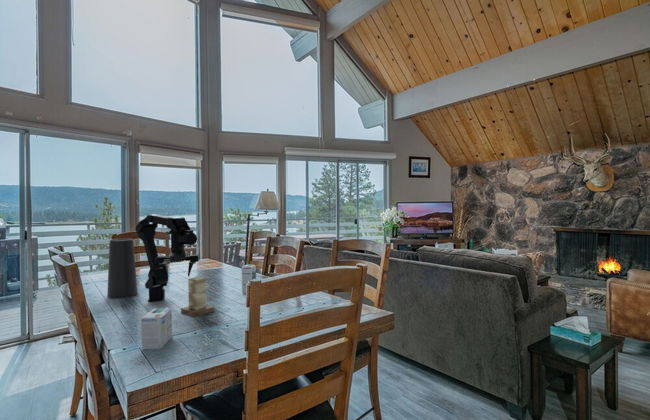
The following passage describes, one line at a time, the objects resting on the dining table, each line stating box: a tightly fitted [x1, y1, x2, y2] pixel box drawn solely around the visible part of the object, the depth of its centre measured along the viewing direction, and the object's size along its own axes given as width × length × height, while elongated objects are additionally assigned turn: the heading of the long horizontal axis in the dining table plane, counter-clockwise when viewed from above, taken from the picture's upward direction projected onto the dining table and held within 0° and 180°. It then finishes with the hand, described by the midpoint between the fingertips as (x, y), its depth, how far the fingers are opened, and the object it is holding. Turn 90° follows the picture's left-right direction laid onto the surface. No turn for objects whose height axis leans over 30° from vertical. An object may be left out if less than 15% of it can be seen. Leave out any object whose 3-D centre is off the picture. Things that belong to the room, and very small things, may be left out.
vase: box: [106, 237, 138, 299], centre depth 187 cm, size 14×14×29 cm
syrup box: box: [241, 264, 257, 295], centre depth 191 cm, size 6×6×14 cm
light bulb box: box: [140, 307, 173, 350], centre depth 124 cm, size 11×7×11 cm, turn 5°
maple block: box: [187, 276, 207, 310], centre depth 159 cm, size 5×5×13 cm
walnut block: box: [180, 304, 215, 318], centre depth 159 cm, size 10×10×2 cm
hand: (178, 277), depth 170 cm, fingers open, 9 cm apart
